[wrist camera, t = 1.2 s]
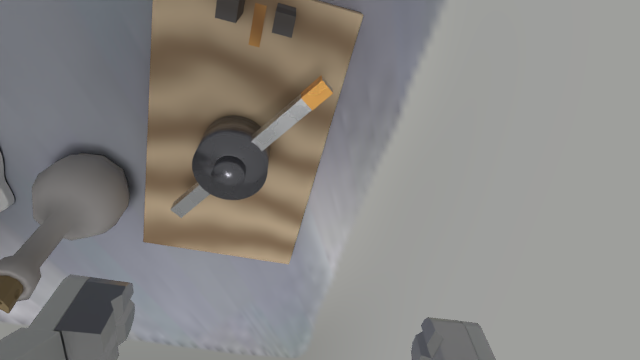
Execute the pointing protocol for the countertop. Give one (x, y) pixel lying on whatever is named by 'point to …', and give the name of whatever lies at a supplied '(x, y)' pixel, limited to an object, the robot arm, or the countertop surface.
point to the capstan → (242, 151)
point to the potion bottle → (64, 216)
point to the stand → (239, 113)
